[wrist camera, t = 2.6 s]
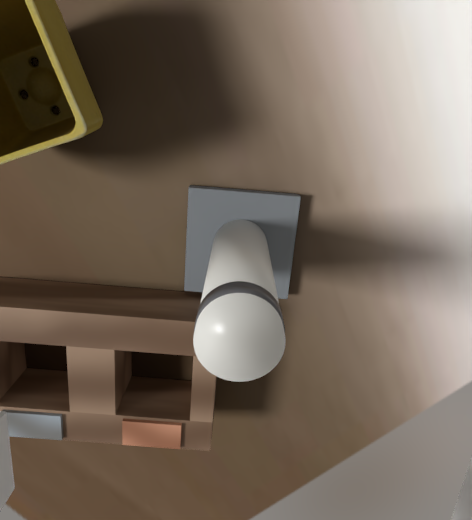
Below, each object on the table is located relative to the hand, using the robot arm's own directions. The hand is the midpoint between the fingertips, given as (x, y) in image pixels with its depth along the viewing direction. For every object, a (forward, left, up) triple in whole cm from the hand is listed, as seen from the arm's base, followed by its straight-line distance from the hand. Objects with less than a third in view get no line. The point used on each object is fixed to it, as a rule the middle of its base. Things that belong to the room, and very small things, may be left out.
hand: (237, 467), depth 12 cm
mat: (0, 0, -22) cm, 22 cm away
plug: (0, 0, -21) cm, 21 cm away
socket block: (+10, -10, -22) cm, 26 cm away
